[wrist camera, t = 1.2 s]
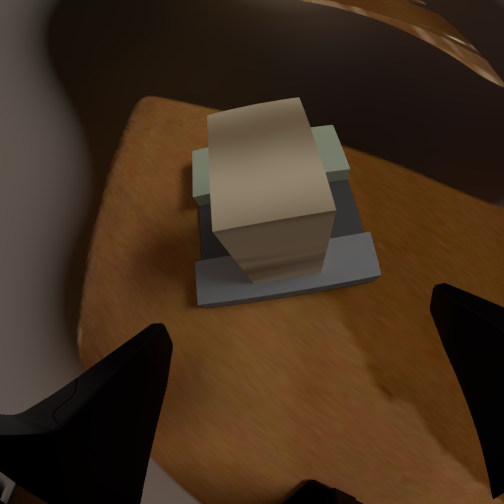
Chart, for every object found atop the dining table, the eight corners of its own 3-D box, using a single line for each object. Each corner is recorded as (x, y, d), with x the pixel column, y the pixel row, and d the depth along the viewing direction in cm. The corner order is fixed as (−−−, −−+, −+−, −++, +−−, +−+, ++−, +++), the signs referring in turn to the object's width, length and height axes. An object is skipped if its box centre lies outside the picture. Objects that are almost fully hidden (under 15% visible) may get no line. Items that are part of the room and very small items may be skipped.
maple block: (321, 272, 20) (336, 210, 10) (254, 283, 20) (212, 231, 11) (303, 190, 22) (299, 97, 13) (244, 201, 23) (207, 115, 13)
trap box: (374, 280, 21) (381, 274, 19) (206, 308, 22) (197, 305, 21) (331, 138, 26) (332, 125, 24) (199, 162, 28) (192, 151, 26)
